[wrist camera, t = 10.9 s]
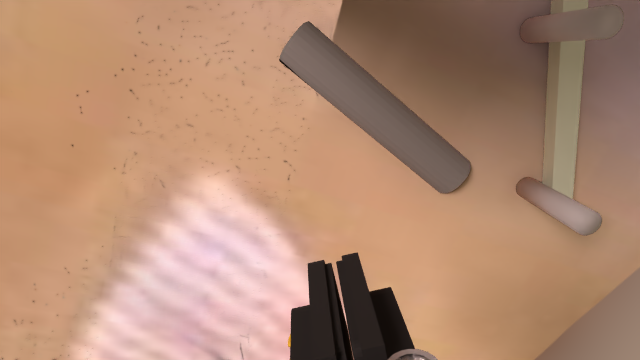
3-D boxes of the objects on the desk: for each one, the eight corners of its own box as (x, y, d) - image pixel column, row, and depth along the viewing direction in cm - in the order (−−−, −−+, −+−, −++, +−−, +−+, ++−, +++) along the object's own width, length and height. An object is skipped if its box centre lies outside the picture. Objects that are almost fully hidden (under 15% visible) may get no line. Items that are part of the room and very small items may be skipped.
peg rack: (520, 5, 30) (595, -11, 22) (575, -3, 30) (668, -23, 22) (515, 207, 36) (573, 248, 28) (561, 200, 36) (631, 239, 28)
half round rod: (438, 193, 36) (445, 201, 34) (275, 60, 31) (273, 60, 29) (470, 160, 35) (479, 166, 33) (307, 17, 30) (307, 15, 28)
